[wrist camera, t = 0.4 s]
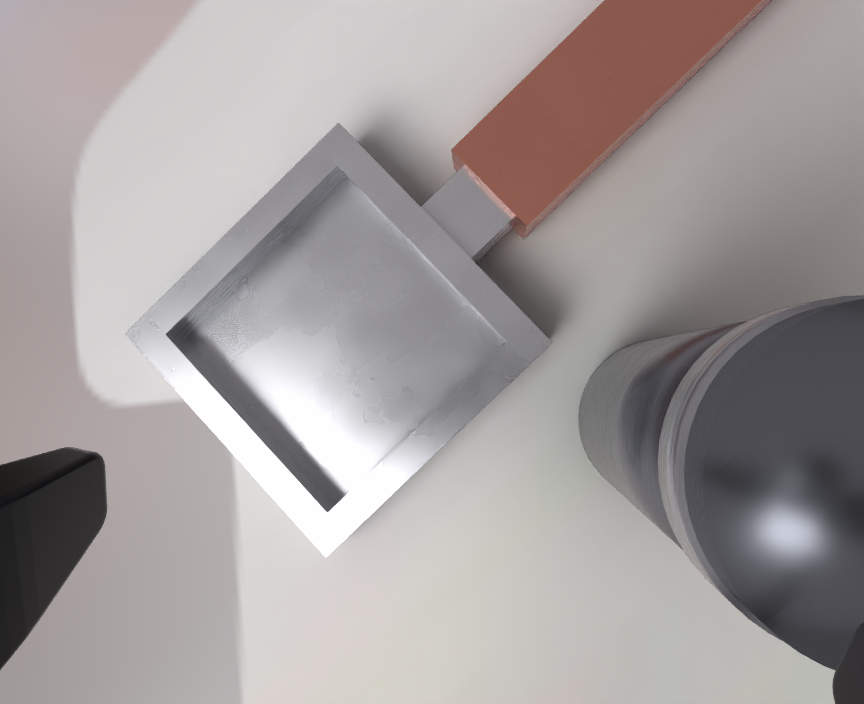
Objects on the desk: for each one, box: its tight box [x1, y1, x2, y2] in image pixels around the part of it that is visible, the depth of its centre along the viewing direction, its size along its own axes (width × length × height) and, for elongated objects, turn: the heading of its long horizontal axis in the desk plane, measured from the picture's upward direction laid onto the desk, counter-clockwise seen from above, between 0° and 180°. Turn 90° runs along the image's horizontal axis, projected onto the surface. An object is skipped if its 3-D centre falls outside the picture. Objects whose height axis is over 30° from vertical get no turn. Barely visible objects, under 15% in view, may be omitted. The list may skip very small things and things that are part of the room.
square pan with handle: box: [125, 0, 772, 557], centre depth 22 cm, size 27×10×2 cm, turn 133°
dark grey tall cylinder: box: [579, 296, 864, 670], centre depth 16 cm, size 6×6×13 cm
